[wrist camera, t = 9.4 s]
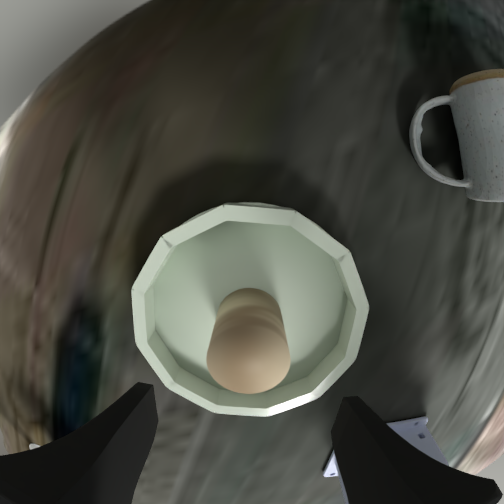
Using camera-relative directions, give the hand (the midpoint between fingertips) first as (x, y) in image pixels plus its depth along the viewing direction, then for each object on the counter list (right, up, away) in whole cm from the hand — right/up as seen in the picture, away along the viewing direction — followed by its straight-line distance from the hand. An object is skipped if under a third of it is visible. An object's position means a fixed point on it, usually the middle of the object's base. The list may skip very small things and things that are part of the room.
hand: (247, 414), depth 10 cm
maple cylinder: (0, +2, +8) cm, 9 cm away
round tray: (0, +2, +9) cm, 9 cm away
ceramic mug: (+16, +14, +7) cm, 22 cm away
